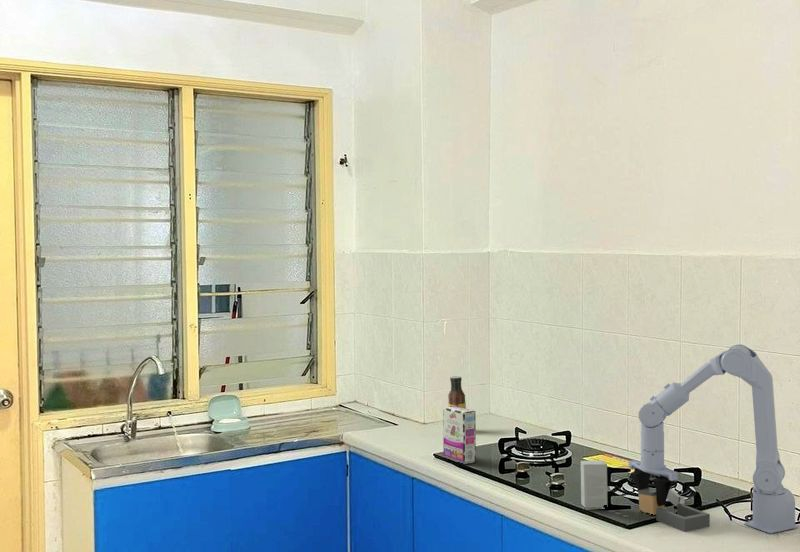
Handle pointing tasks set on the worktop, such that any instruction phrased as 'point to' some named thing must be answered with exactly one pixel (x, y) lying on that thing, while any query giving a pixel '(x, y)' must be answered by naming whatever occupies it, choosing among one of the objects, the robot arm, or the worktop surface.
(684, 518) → the socket
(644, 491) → the plug
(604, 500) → the skincare box
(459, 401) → the sauce bottle
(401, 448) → the worktop surface
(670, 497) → the clip
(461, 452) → the candy bar box
